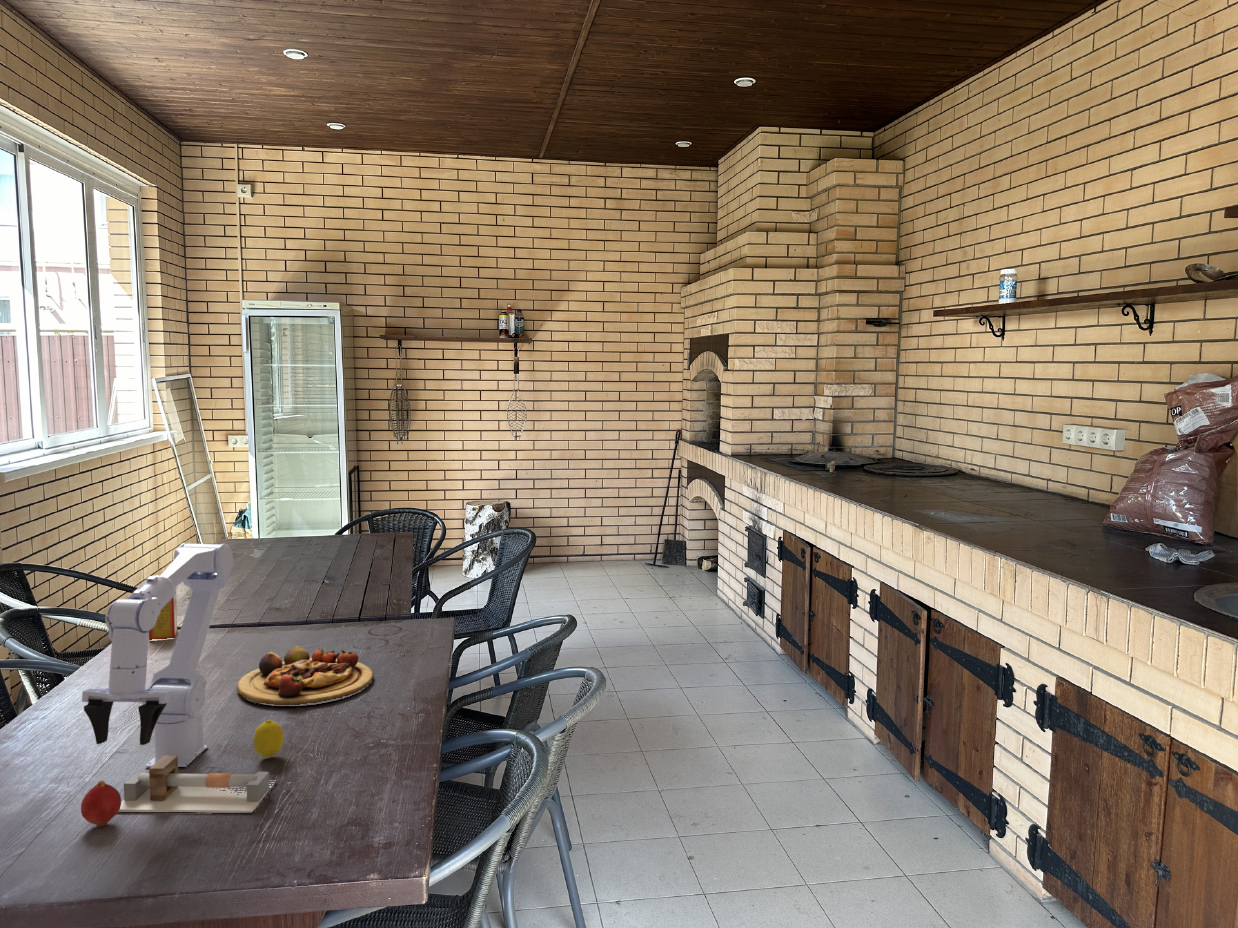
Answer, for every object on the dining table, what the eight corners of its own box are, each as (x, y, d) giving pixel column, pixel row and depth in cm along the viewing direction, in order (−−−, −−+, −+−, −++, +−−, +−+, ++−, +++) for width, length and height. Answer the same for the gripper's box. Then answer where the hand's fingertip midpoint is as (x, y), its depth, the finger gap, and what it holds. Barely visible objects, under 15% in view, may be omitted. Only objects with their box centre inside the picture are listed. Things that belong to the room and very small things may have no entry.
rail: (113, 812, 144) (112, 787, 143) (147, 782, 155) (146, 758, 154) (252, 813, 145) (251, 788, 144) (276, 783, 156) (276, 760, 155)
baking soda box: (174, 639, 239) (173, 585, 237) (149, 641, 236) (147, 587, 234) (177, 630, 247) (175, 578, 246) (152, 632, 245) (150, 579, 243)
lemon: (287, 752, 169) (287, 714, 168) (277, 764, 163) (277, 725, 162) (260, 751, 169) (259, 714, 168) (249, 764, 163) (248, 725, 162)
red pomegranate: (76, 826, 139) (74, 781, 138) (113, 812, 144) (111, 768, 143) (89, 838, 136) (87, 792, 135) (127, 824, 140) (126, 779, 139)
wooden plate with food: (329, 716, 188) (330, 681, 187) (207, 701, 194) (207, 666, 193) (395, 672, 219) (396, 642, 218) (287, 660, 225) (288, 630, 225)
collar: (150, 799, 147) (149, 768, 146) (165, 785, 152) (164, 755, 151) (163, 800, 147) (162, 768, 146) (178, 785, 152) (177, 755, 152)
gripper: (73, 669, 144) (67, 748, 143) (157, 671, 144) (152, 749, 144) (97, 661, 151) (92, 737, 150) (178, 663, 151) (173, 739, 151)
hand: (123, 742), depth 147 cm, fingers open, 7 cm apart
